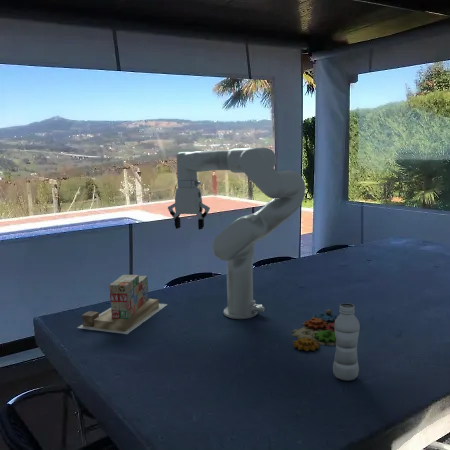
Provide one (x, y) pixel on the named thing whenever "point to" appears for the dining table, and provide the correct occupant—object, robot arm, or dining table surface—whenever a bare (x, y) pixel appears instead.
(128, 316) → the stack of blocks
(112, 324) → the oak plinth
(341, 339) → the plastic bottle
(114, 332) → the cream tile
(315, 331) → the gear puzzle
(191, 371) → the dining table surface
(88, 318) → the walnut cube
